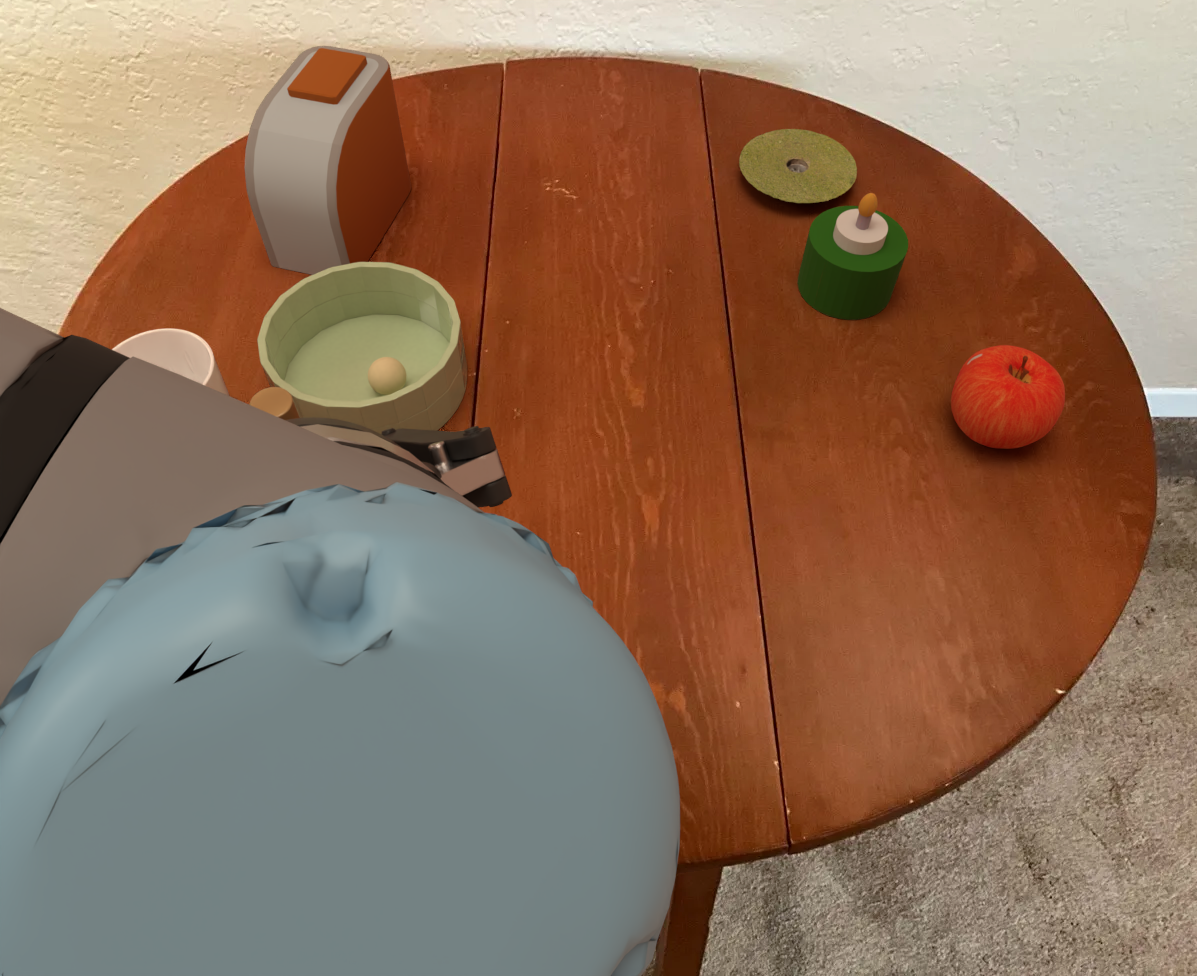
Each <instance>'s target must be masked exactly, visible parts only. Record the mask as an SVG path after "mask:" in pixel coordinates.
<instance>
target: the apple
mask: <svg viewBox="0 0 1197 976" xmlns="http://www.w3.org/2000/svg"><path fill="white" fill-rule="evenodd" d="M950 397H951V398H950V406H951V407H950V408H951V412H952V416H953V420H954V421H955V422H956V424H957V426H958V427H959V429H960V430H961V431H962V432H963V434H965V436H966V437H968V439H970V440H971V441H973V442H975V443H977V444H980V445H983V446H985V447H988V448H992V449H1007V450H1008V449H1018V448H1019V449H1020V448H1023V447H1026V446H1028V445H1031V444H1033V443H1035V442H1037V441H1039V440H1041V439H1042V438H1044V437H1045V436H1047V434H1049V433H1050V432H1051V431H1052V430H1053V428H1055V426H1056V424H1057V422H1058V421H1059V418H1060V417H1061V416H1062V413H1063V410H1064V408H1065V404H1066V388H1065V383H1064V380H1063V378H1062V377H1061V375H1060V373H1059V372H1058V370H1057V369H1056V368H1055V367H1054V366H1053V365H1052V364H1051V363H1049V362H1048V361H1047V360H1046V359H1044V358H1043V357H1041V356H1040V355H1039V354H1037V353H1035V351H1034V352H1033V351H1031V350H1029V349H1027V348H1024V347H1020V346H1016V345H1009V344H998V345H994V346H990V347H986V348H983V349H980V350H978V351H976V352H975V353H973V354H972V355H970V356H969V357H968V358H967V359H966V361H965V362H964V363H963V364H962V366H961V368H960V370H959V372H958V374H957V376H956V379H955V381H954V385H953V387H952V391H951V396H950Z"/></svg>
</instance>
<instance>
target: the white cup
mask: <svg viewBox="0 0 1197 976" xmlns="http://www.w3.org/2000/svg"><path fill="white" fill-rule="evenodd" d="M111 350H114V351H116V352H118V353H120V354H123V355H125V356H127V357H129V358H131V357H136V358H139V359H141V360H144V361H146V362H149V363H151V364H154V365H156V366H159V367H161V368H164V369H167V370H169V371H172V372H174V373H177V374H179V375H182V376H184V377H186V378H189V379H191V380H193V381H196V382H198V383H200V384H203V385H205V386H207V387H209V388H212V389H214V390H216V391H219V392H221V393H223V394H226V395H228V396H230V397H231V395H230V392H229V390H228V388H227V385H226V382H225V380H224V378H223V375H222V373H221V372H222V371H221V370H220V367H219V365H218V362H217V360H216V357H215V355H214V352H213V349H212V347H211V346H210V345H209V343H208V342H207V341H206V340H205V339H204V338H203V337H201V336H200V335H198V334H196V333H194V332H192V331H189V330H185V329H181V328H172V327H171V328H170V327H167V328H156V329H151V330H150V329H149V330H146V331H143V332H139V333H137V334H135V335H132V336H130V337H128V338H126V339H125V340H123V341H121V342H120V343H117V344H116V345H115V346H114V347H113V348H111Z"/></svg>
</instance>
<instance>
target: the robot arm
mask: <svg viewBox="0 0 1197 976" xmlns="http://www.w3.org/2000/svg"><path fill="white" fill-rule="evenodd" d="M512 497H513V493H512V490H511V487H510V484H509V481H508V479H507V475H506V472H505V468H504V466H503V463H502V459H501V455H500V453H499V450H498V448H497V444H496V441H495V438H494V435H493V432H492V429H491V427H490V426H484V427H480V426H479V425H475V426H471V427H468V428H466V429H464V430H458V431H450V430H449V431H448V430H437V431H435V430H419V429H403V428H402V429H396V430H395V429H393V428H390V429H386V430H384V431H382V433H381V434H380V433H378V432H375V431H373V430H371V429H369V428H366V427H364V426H361V425H358V424H355V423H351V422H347V421H342V420H338V419H330V418H316V417H311V418H296V419H288V420H283V419H281V418H279V417H276V416H274V415H272V414H269V413H267V412H265V411H263V410H260V409H258V408H256V407H253V406H251V405H250V403H246V402H244V401H242V400H239V399H237V398H234V397H233V396H231V395H230V396H228V395H226V394H223V393H221V392H219V391H216V390H214V389H212V388H209V387H207V386H205V385H203V384H200V383H198V382H196V381H193V380H191V379H189V378H186V377H184V376H182V375H179V374H177V373H174V372H172V371H169V370H167V369H164V368H161V367H159V366H156V365H154V364H151V363H149V362H146V361H144V360H141V359H139V358H136V357H131V358H129V357H127V356H125V355H123V354H120V353H118V352H116V351H114V350H112V348H109V347H107V346H104V345H102V344H100V343H98V342H95V341H94V340H92V339H89V338H87V337H83V336H78V335H74V334H70V335H67V336H63V335H60V334H59V333H56V332H54V331H52V330H49V329H47V328H45V327H42V326H40V325H38V324H36V323H34V322H32V321H30V320H27V319H25V318H23V317H21V316H19V315H17V314H15V313H13V312H10V311H8V310H6V309H4V308H1V307H0V976H642V975H643V974H644V973H645V971H646V970H647V969H648V968H649V966H650V964H651V963H652V962H653V959H654V955H655V952H656V951H655V950H656V947H657V943H658V940H659V937H660V934H661V932H662V928H663V925H664V923H665V920H666V917H667V914H668V912H669V909H670V905H671V899H672V895H673V891H674V886H675V882H676V876H677V875H676V874H677V868H678V862H679V854H680V846H681V845H680V844H681V843H680V842H681V841H680V840H681V795H680V784H679V776H678V771H677V764H676V760H675V756H674V751H673V750H674V749H673V746H672V742H671V740H670V737H669V733H668V730H667V726H666V724H665V720H664V717H663V715H662V712H661V710H660V708H659V705H658V701H657V699H656V696H655V694H654V692H653V690H652V688H651V685H650V683H649V681H648V679H647V677H646V675H645V673H644V671H643V670H642V668H641V667H640V664H639V663H638V662H637V660H636V657H634V655H633V654H632V652H631V651H630V649H629V648H628V646H627V645H626V643H625V642H624V641H623V639H622V638H621V637H620V636H619V634H617V632H616V630H614V628H612V626H611V625H610V624H609V623H608V622H607V621H606V620H605V618H604V617H602V616H601V614H600V613H599V612H598V611H597V609H595V608H594V601H593V600H592V599H591V598H590V597H588V596H587V595H586V594H584V593H583V592H582V589H581V586H580V583H579V581H578V577H577V576H576V574H575V573H574V572H573V571H572V570H571V569H570V568H569V567H566V566H563V565H562V564H561V563H560V562H559V561H558V560H556V559H555V558H554V555H553V551H552V550H551V549H552V548H551V546H550V543H548V542H547V541H546V540H544V539H543V538H541V536H540V535H538V534H536V533H535V532H533V531H531V529H528V528H527V527H526V526H524V525H522V524H521V523H519V522H517V521H515V520H512V519H510V518H508V517H505V516H503V515H498V514H496V513H492V512H485V511H484V510H482V509H480V508H486V507H489V508H495V507H499V506H501V505H503V504H504V502H505V501H507V500H509V499H511V498H512Z"/></svg>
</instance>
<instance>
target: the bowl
mask: <svg viewBox="0 0 1197 976" xmlns="http://www.w3.org/2000/svg"><path fill="white" fill-rule="evenodd" d="M256 341H257V348H258V356H259V363H260V365H261V368H262V370H263V372H264V375H265V377H266V380H267V382H268V384H269V387H280V388H283V389H285V390H287V391H288V392H289V393H290V394H291V395H292V398H293V400H294V403H295V406H296V408H297V411H298V414H299V416H300V418H311V417H316V418H330V419H338V420H342V421H347V422H351V423H355V424H358V425H361V426H364V427H366V428H369V429H371V430H373V431H375V432H378V433H380V434H381V433H382V431H384V430H386V429H390V428H393V429H395V430H396V429H402V428H403V429H419V430H435V431H440V429H441V428H442V427H443V426H444V425H445V424H447V423H448V421H449V420H451V418H452V417H453V415H454V414H455V413H456V412H457V410H458V409H459V407H460V405H461V403H462V401H463V399H464V395H465V394H466V389H467V384H468V362H467V355H466V349H465V348H466V347H465V342H464V335H463V328H462V322H461V318H460V315H459V312H458V308H457V305H456V301H455V300H454V298H453V297H452V296H451V294H450V293H449V292H448V291H447V290H446V289H445V287H443V285H442V284H441V283H440V282H439V281H438V280H436V279H434V278H432V277H431V276H429V275H428V274H426V273H424V272H422V271H421V270H419V269H416V268H415V267H414V268H413V267H409V266H406V265H402V264H397V263H395V262H390V261H368V262H356V263H351V264H345V265H340V266H335V267H331V268H328V269H326V270H323V271H321V272H318V273H316V274H314V275H311V274H310V275H309V276H306V277H304V278H303V279H301V280H299V281H298V282H297V283H295V284H294V285H293V286H291V287H290V288H288V289H287V290H286V291H284V292H283V293H282V294H280V295H279V296H278V298H277V299H276V301H275V302H274V303H273V304H272V305H271V307H270V308H269V310H268V311H267V312H266V314H265V315H264V317H263V319H262V323H261V326H260V329H259V333H258V335H257V340H256ZM382 357H391V358H394V359H396V360H398V361H399V362H400V363H401V364H402V365H403V366H404V368H405V371H406V383H405V385H404V387H403V388H402V389H401V390H399V391H396V392H394V393H392V394H390V395H383V394H380V393H378V392H376V391H375V390H374V389H373V388H372V387H371V385H370V384H369V381H368V370H369V368H370V366H371V364H372V363H373V362H374V361H375V360H377V359H379V358H382Z"/></svg>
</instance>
